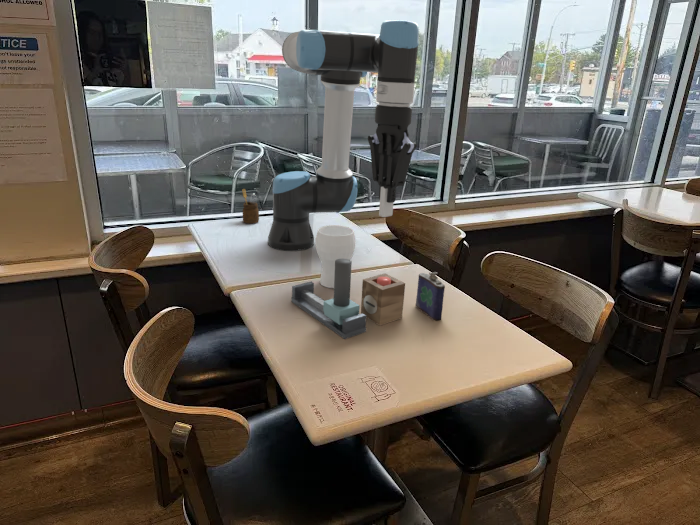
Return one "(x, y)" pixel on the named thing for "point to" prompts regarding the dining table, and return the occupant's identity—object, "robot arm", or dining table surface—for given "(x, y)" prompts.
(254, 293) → the dining table surface
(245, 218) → the utensil holder
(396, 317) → the open wooden box
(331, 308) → the carriage
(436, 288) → the flask
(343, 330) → the rail track
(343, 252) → the cup
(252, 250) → the dining table surface
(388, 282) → the button
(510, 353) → the dining table surface
